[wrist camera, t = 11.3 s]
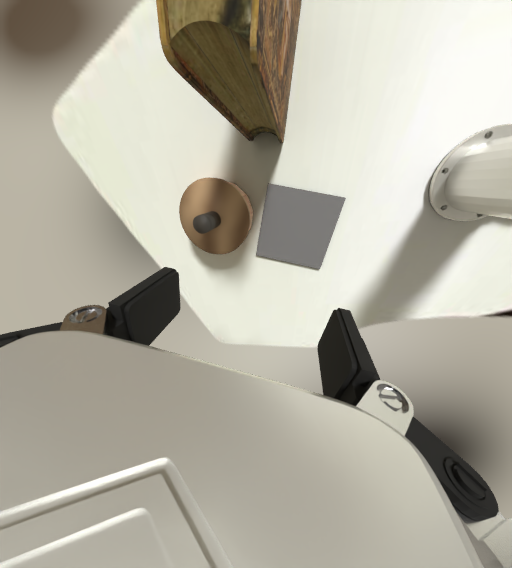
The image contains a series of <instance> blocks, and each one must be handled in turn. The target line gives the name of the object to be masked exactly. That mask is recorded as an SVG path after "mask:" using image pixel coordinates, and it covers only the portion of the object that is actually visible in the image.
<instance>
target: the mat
mask: <svg viewBox="0 0 512 568" xmlns="http://www.w3.org/2000/svg"><path fill="white" fill-rule="evenodd" d="M345 199H346V198H344V197H338V196H333V195H327V194H322V193H317V192H311V191H306V190H301V189H295V188H290V187H285V186H279V185H274V184H269V183H268V188H267V194H266V200H265V205H264V211H263V217H262V223H261V229H260V235H259V241H258V247H257V253H256V255H258V256H263V257H267V258H272V259H276V260H281V261H285V262H290V263H294V264H299V265H304V266H308V267H313V268H317V269H320V267H321V265H322V262H323V259H324V256H325V254H326V251H327V248H328V245H329V243H330V240H331V237H332V234H333V232H334V229H335V226H336V223H337V221H338V218H339V215H340V212H341V210H342V207H343V204H344V201H345Z"/></svg>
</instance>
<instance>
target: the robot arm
mask: <svg viewBox="0 0 512 568" xmlns="http://www.w3.org/2000/svg"><path fill="white" fill-rule="evenodd" d="M484 136H485V137H484ZM442 170H443V172H442ZM429 198H430V202H431V205H432V207H433V209H434V210H435V211H436V212H437V213H438V214H439V215H441V216H442V217H444V218H447V219H451V220H456V221H471V220H477V219H481V218H484V217H487V216H489V215H490V216H496V217H502V218H508V219H512V124H505V125H499V126H495V127H491V128H488V129H485V130H483V131H480V132H478V133H475V134H474V135H472V136H470V137H468V138H467V139H465V140H464V141H462V142H461V143H460V144H458V145H457V146H456V147H455V148H454V149H453V150H452V151H451V152H450V153H449V154H448V155H447V156H446V157H445V158H444V159H443V161H442V162H441V163H440V165H439V166H438V168H437V170H436V171H435V173H434V176H433V178H432V181H431V185H430V189H429ZM179 311H180V291H179V274H178V272H176V270H175V269H172V268H168V267H164V268H163V269H161V270H159V271H158V272H156V273H155V274H153V275H152V276H150V277H148V278H147V279H145V280H144V281H142V282H141V283H139V284H137V285H136V286H134V287H133V288H131V289H130V290H128V291H126V292H125V293H123V294H122V295H120V296H118V297H117V298H115V299H114V300H112V301H111V302H109V307H108V308H107V309H105V308H104V307H103V306H100V305H88V306H83V307H80V308H77V309H75V310H73V311H71V312H70V313H68V314H67V315H66V316H65V318H64V320H63V322H60V323H55V324H51V325H45V326H40V327H35V328H30V329H25V330H20V331H15V332H10V333H6V334H2V335H0V568H512V519H511V518H508V519H505V518H504V517H503V516H502V514H501V513H500V512H499V511H498V504H497V501H496V499H495V497H494V494H493V493H492V491H491V490H490V488H489V486H488V485H487V483H486V482H485V481H484V480H483V478H482V477H481V476H480V475H479V474H478V473H477V472H476V471H475V470H474V469H473V468H472V467H471V466H470V465H469V464H468V463H466V462H465V461H464V460H463V459H462V458H461V457H459V456H458V455H457V454H456V453H455V452H454V451H453V450H451V449H450V448H449V447H448V446H447V445H446V444H444V443H443V442H442V441H441V440H440V439H439V438H437V437H436V436H435V435H434V434H433V433H432V432H430V431H429V430H428V429H427V428H426V427H425V426H423V425H422V424H421V423H420V422H419V421H418V420H416V419H415V418H414V417H413V414H414V409H413V405H412V403H411V401H410V400H409V398H408V397H407V396H406V395H405V393H404V392H403V391H401V390H400V389H399V388H398V387H396V386H395V385H393V384H392V383H389V382H387V381H383V380H380V378H379V375H378V373H377V371H376V368H375V366H374V364H373V361H372V359H371V357H370V354H369V352H368V350H367V348H366V345H365V343H364V341H363V339H362V338H361V336H360V333H359V331H358V329H357V326H356V324H355V321H354V319H353V317H352V314H351V312H350V311H349V310H345V309H341V308H338V309H337V310H334V311H333V313H332V315H331V317H330V319H329V321H328V323H327V326H326V328H325V330H324V332H323V334H322V337H321V339H320V341H319V343H318V355H319V363H320V371H321V379H322V386H323V395H321V394H318V393H315V392H311V391H308V390H304V389H301V388H298V387H295V386H291V385H288V384H284V383H281V382H277V381H273V380H270V379H266V378H263V377H259V376H256V375H252V374H248V373H245V372H242V371H238V370H234V369H231V368H227V367H223V366H220V365H217V364H213V363H209V362H206V361H202V360H198V359H195V358H191V357H188V356H184V355H180V354H177V353H173V352H169V351H165V350H162V349H158V348H155V347H151V346H149V345H150V344H151V343H152V342H153V341H154V340H155V338H156V337H157V336H158V335H159V334H160V333H161V332H162V331H163V330H164V329H165V327H166V326H167V325H168V324H169V323H170V322H171V321H172V320H173V319H174V317H175V316H176V315H177V314H178V313H179Z"/></svg>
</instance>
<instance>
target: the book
mask: <svg viewBox="0 0 512 568" xmlns="http://www.w3.org/2000/svg"><path fill="white" fill-rule="evenodd" d="M156 3H157V13H158V22H159V32H160V40H161V45H162V49H163V52H164V54H165V57H166V59H167V61H168V62H169V63H170V65H171V66H172V67H173V68H174V69H175V70H176V71H177V72H178V73H179V74H180V75H181V76H182V77H183V78H184V79H185V80H186V81H187V82H188V83H189V84H190V85H191V86H192V87H193V88H194V89H195V90H196V91H197V92H198V93H199V94H201V95H202V96H203V97H204V98H205V99H206V100H207V101H208V102H209V103H210V104H211V105H212V106H213V107H214V108H215V109H216V110H217V111H218V112H220V113H221V114H222V115H223V116H224V117H225V118H226V119H227V120H228V121H229V122H230V123H231V124H232V125H233V126H234V127H235V128H236V129H237V130H239V131H240V132H241V133H242V134H243V135H244V136H245V137H246V138H247V139H248V140H249V141H253V139H254V137H255V136H256V135H257V134H259V133H261V132H271V133H273V134H275V135H277V136H278V139H279V141H280V143H283V141H284V134H285V126H286V119H287V111H288V103H289V95H290V87H291V79H292V72H293V64H294V56H295V48H296V40H297V32H298V24H299V16H300V9H301V0H156Z"/></svg>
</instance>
